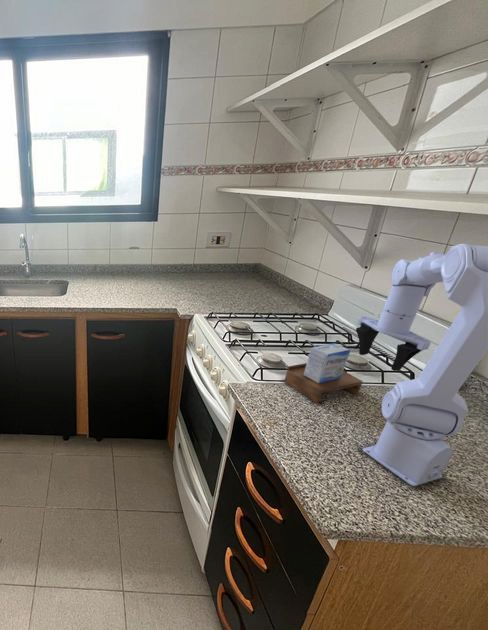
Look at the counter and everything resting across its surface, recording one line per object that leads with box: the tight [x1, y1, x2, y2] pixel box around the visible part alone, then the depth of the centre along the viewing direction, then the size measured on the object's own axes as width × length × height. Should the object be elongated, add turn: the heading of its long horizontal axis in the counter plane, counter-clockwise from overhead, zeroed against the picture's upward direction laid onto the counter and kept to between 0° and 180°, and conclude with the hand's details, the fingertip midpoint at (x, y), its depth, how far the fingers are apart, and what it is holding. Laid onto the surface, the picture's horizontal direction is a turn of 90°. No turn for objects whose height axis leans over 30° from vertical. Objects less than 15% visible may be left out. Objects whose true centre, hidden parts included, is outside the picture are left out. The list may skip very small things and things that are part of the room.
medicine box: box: [304, 342, 351, 384], centre depth 89 cm, size 8×4×9 cm, turn 107°
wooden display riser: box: [283, 362, 364, 404], centre depth 93 cm, size 10×14×5 cm
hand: (378, 361), depth 86 cm, fingers open, 7 cm apart
